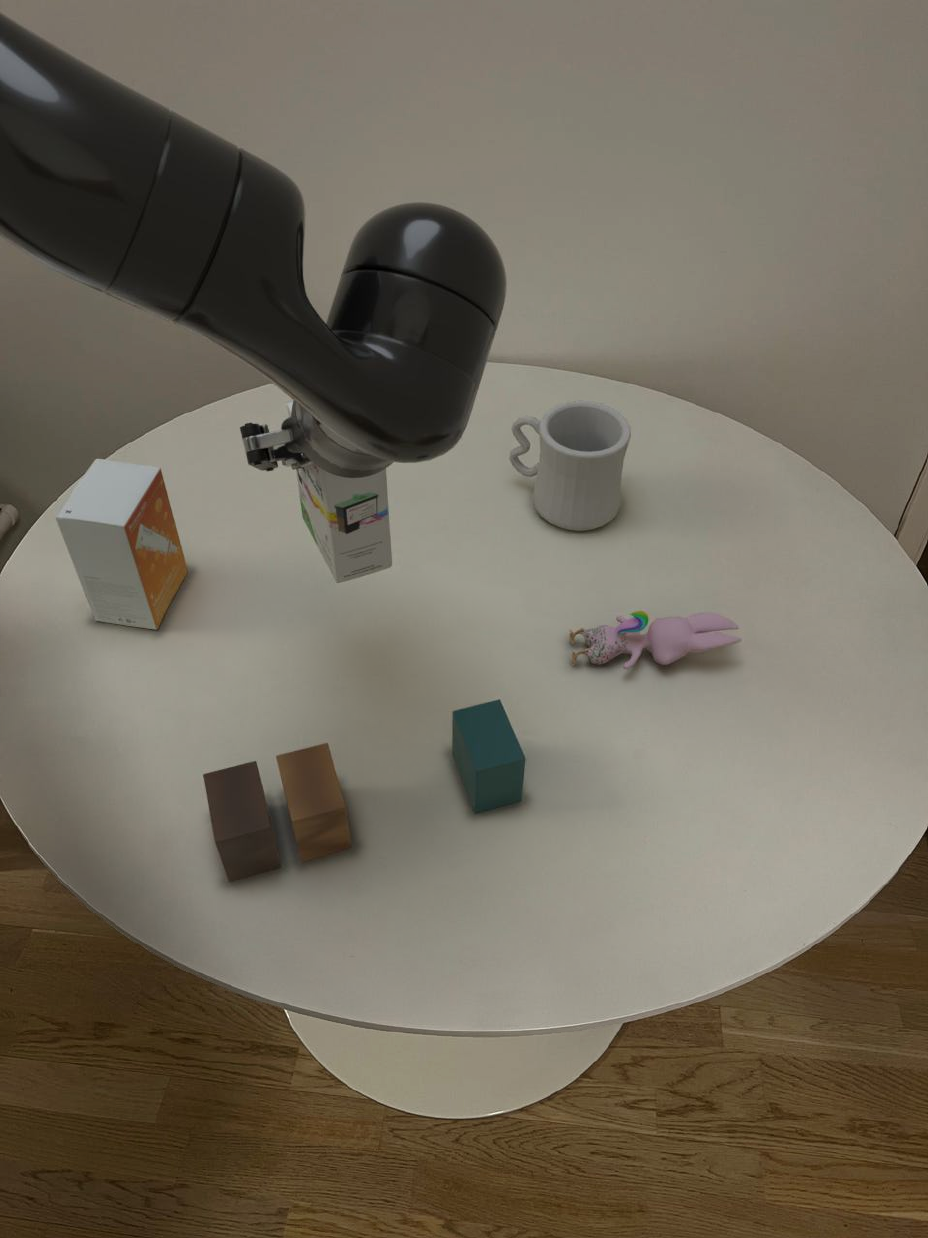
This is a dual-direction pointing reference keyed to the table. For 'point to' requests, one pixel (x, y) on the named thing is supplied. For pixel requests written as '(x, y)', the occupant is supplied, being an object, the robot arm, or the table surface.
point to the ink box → (347, 520)
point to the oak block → (314, 801)
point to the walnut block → (241, 821)
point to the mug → (576, 463)
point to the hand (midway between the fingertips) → (331, 447)
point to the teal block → (487, 755)
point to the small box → (124, 542)
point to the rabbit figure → (656, 637)
